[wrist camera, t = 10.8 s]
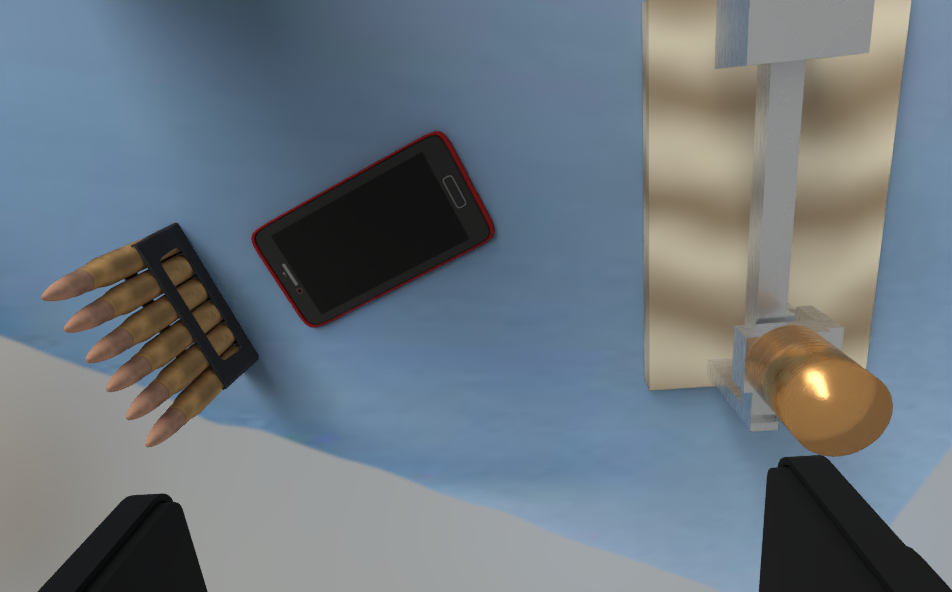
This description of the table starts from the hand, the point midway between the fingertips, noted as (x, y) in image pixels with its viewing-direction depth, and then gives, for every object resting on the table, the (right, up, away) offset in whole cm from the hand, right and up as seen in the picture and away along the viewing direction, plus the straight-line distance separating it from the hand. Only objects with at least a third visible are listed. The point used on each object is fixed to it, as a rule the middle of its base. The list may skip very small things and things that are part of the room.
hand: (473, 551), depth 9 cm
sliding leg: (+16, +4, +28) cm, 33 cm away
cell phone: (-7, +8, +30) cm, 32 cm away
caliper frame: (+16, +10, +26) cm, 32 cm away
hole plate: (+18, +10, +28) cm, 35 cm away
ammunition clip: (-18, +4, +32) cm, 37 cm away
